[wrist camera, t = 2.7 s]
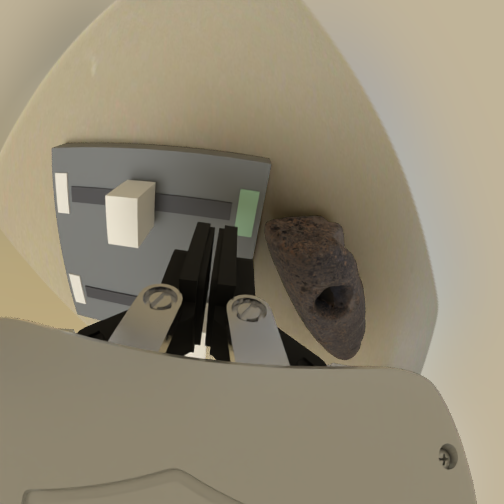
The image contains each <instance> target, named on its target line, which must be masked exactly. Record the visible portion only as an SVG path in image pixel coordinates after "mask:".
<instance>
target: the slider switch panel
mask: <svg viewBox="0 0 504 504" xmlns="http://www.w3.org/2000/svg"><path fill="white" fill-rule="evenodd" d="M270 169H271V162H270V160H269V158H263V157H257V156H251V155H245V154H238V153H231V152H224V151H216V150H207V149H199V148H189V147H178V146H166V145H151V144H131V143H66V144H62V145H59V146H56V147H54V148H52V174H53V189H54V200H55V210H56V218H57V225H58V232H59V238H60V244H61V249H62V255H63V259H64V264H65V269H66V273H67V277H68V282H69V286H70V289H71V293H72V297H73V301H74V304H75V307H76V311H77V314H78V315H82V316H86V317H89V318H93V319H97V320H101V321H102V320H104V319H107V318H109V317H111V316H114V315H116V314H119V313H121V312H123V311H126V310H128V309H129V308H130V306H131V305H132V303H133V302H134V300H135V299H136V297H137V296H138V295H139V293H140V292H141V291H142V290H143V289H144V288H145V287H147V286H149V285H153V284H161V282H162V279H163V277H164V274H165V271H166V269H167V266H168V264H169V261H170V259H171V256H172V254H173V251H174V250H175V249H178V250H186V251H188V249H189V246H190V243H191V240H192V237H193V234H194V231H195V228H196V225H197V222H204V223H211V227H215V235H214V243H213V252H212V262H211V271H210V281H209V289H208V295H207V302H206V303H208V302H209V292H210V283H211V276H212V269H213V263H214V257H215V251H216V245H217V239H218V233H219V228H225V225H227V226H235V227H238V234H237V257H239V258H247V259H253V255H254V250H255V245H256V240H257V235H258V230H259V225H260V220H261V215H262V209H263V204H264V199H265V194H266V189H267V184H268V179H269V174H270ZM126 180H137V181H148V182H156V184H155V210H154V226H153V228H152V229H151V230H150V232H149V233H148V235H147V236H146V238H145V239H144V241H143V242H142V244H141V245H140V246H139V248H133V247H127V246H120V245H113V244H108V235H107V222H106V203H105V195H107V194H108V193H109V192H111V191H112V190H113V189H115V188H116V187H118V186H119V185H120V184H122V183H123V182H125V181H126Z"/></svg>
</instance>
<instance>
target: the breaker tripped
mask: <svg viewBox="0 0 504 504" xmlns="http://www.w3.org/2000/svg"><path fill="white" fill-rule="evenodd" d="M155 184H156V182H148V181H137V180H126V181H125V182H123V183H122V184H120V185H119V186H118V187H116V188H115V189H113V190H112V191H111V192H109V193H108V194H107V195H105V203H106V222H107V235H108V244H113V245H120V246H127V247H133V248H139V246H140V245H141V244H142V242H143V241H144V239H145V238H146V236H147V235H148V233H149V232H150V230H151V229H152V228H153V226H154V210H155Z"/></svg>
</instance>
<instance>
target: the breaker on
mask: <svg viewBox="0 0 504 504" xmlns="http://www.w3.org/2000/svg"><path fill="white" fill-rule="evenodd" d="M207 313H208V303H206V308H205V315H204V322H203V329H202V337H201V344H200V345H195V348H194V353H192V352H190V353H188V354H186V355H185V356H188V357H195V358H202V359H205V357H206V350H207V346H205V337H206V325H207Z"/></svg>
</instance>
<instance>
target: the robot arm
mask: <svg viewBox="0 0 504 504" xmlns="http://www.w3.org/2000/svg"><path fill="white" fill-rule="evenodd" d="M237 234H238V227H235V226H227V225H225V228H219V233H218V239H217V245H216V251H215V257H214V263H213V269H212V276H211V283H210V292H209V302H208V313H207V325H206V337H205V346H210V355H212V356H213V357H214V358H215V359H216V360H211V359H202V358H195V357H187V356H185V355H186V354H188V353H190V352H192V353H194V348H195V345H200V344H201V337H202V329H203V322H204V315H205V308H206V302H207V295H208V289H209V281H210V271H211V262H212V252H213V243H214V235H215V227H211V223H204V222H197V225H196V228H195V231H194V234H193V237H192V240H191V243H190V246H189V249H188V251H186V250H178V249H175V250H174V251H173V254H172V256H171V259H170V261H169V264H168V266H167V269H166V271H165V274H164V277H163V279H162V282H161V284H153V285H149V286H147V287H145V288H144V289H143V290H142V291H141V292H140V293H139V295H138V296H137V297H136V299H135V300H134V302H133V303H132V305H131V306H130V308H129V309H128V310H126V311H123V312H121V313H119V314H116V315H114V316H111V317H109V318H107V319H104V320H102V321H99V322H97V323H95V324H92V325H90V326H87V327H85V328H84V329H82V330H80V331H79V332H78V333H75V332H74V330H73V329H59V328H54V327H50V326H47V325H43V324H40V323H36V322H33V321H29V320H24V319H19V318H10V317H0V504H477V501H476V496H475V490H474V485H473V480H472V477H471V473H470V469H469V465H468V462H467V458H466V455H465V451H464V448H463V445H462V442H461V439H460V436H459V433H458V431H457V428H456V426H455V423H454V421H453V418H452V416H451V414H450V412H449V409H448V407H447V405H446V403H445V401H444V400H443V398H442V396H441V394H440V393H439V391H438V390H437V389H436V387H435V386H434V384H432V382H431V381H429V380H428V379H427V378H425V377H423V376H421V375H419V374H417V373H414V372H411V371H407V370H404V369H398V368H391V367H378V366H347V365H341V364H336V363H331V365H330V366H329V365H326V364H325V362H324V361H323V360H322V359H321V358H319V357H318V356H317V355H315V354H314V353H312V352H311V351H310V350H308V349H307V348H305V347H304V346H302V345H301V344H300V343H298V342H297V341H296V340H294V339H293V338H291V337H290V336H289V335H287V334H286V333H285V332H283V331H282V330H280V329H279V328H278V327H277V325H276V322H275V319H274V316H273V313H272V310H271V308H270V306H269V304H267V303H266V302H265V301H264V300H262V299H261V298H259V297H256V296H255V285H254V269H253V259H247V258H239V257H237Z"/></svg>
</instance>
